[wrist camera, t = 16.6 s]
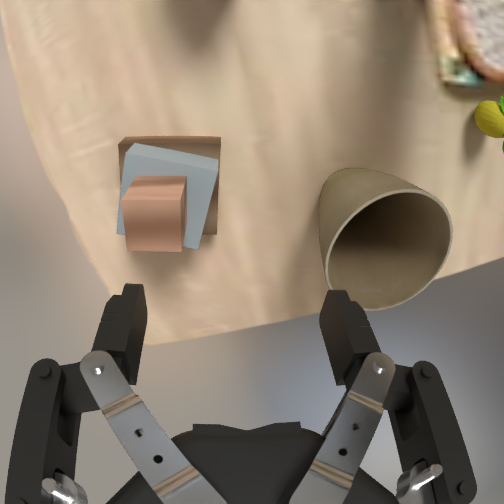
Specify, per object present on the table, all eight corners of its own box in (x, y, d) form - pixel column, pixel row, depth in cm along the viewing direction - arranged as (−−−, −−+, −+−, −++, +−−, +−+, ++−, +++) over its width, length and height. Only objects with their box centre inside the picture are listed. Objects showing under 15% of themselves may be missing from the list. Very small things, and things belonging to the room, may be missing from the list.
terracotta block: (136, 176, 32) (121, 199, 27) (186, 176, 33) (180, 200, 28) (139, 221, 35) (127, 250, 31) (187, 222, 36) (181, 252, 31)
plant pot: (364, 121, 38) (432, 160, 25) (404, 203, 46) (462, 264, 32) (271, 181, 42) (297, 247, 29) (324, 254, 50) (358, 330, 36)
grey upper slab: (134, 142, 34) (125, 152, 31) (218, 159, 36) (218, 171, 33) (124, 217, 39) (116, 233, 36) (199, 232, 42) (198, 249, 38)
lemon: (477, 140, 40) (518, 163, 32) (458, 117, 38) (502, 137, 30) (495, 110, 37) (538, 129, 29) (477, 86, 35) (523, 101, 27)
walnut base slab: (127, 135, 37) (118, 144, 34) (220, 135, 39) (220, 143, 35) (132, 218, 44) (126, 232, 41) (216, 219, 45) (216, 234, 42)
